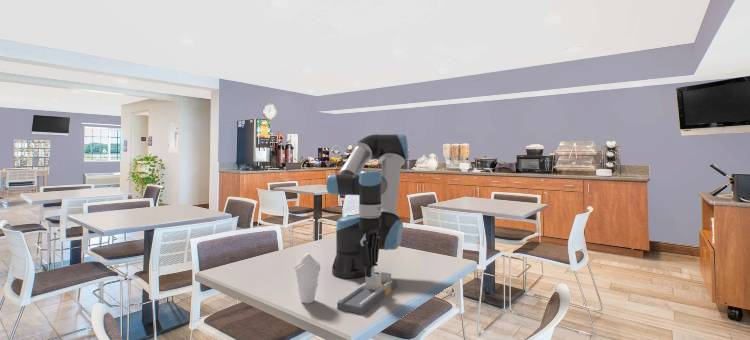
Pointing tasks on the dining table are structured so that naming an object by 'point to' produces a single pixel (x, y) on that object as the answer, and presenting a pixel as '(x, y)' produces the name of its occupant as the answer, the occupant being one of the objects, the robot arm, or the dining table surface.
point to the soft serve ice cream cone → (307, 278)
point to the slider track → (366, 296)
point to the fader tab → (376, 282)
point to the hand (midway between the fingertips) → (369, 285)
